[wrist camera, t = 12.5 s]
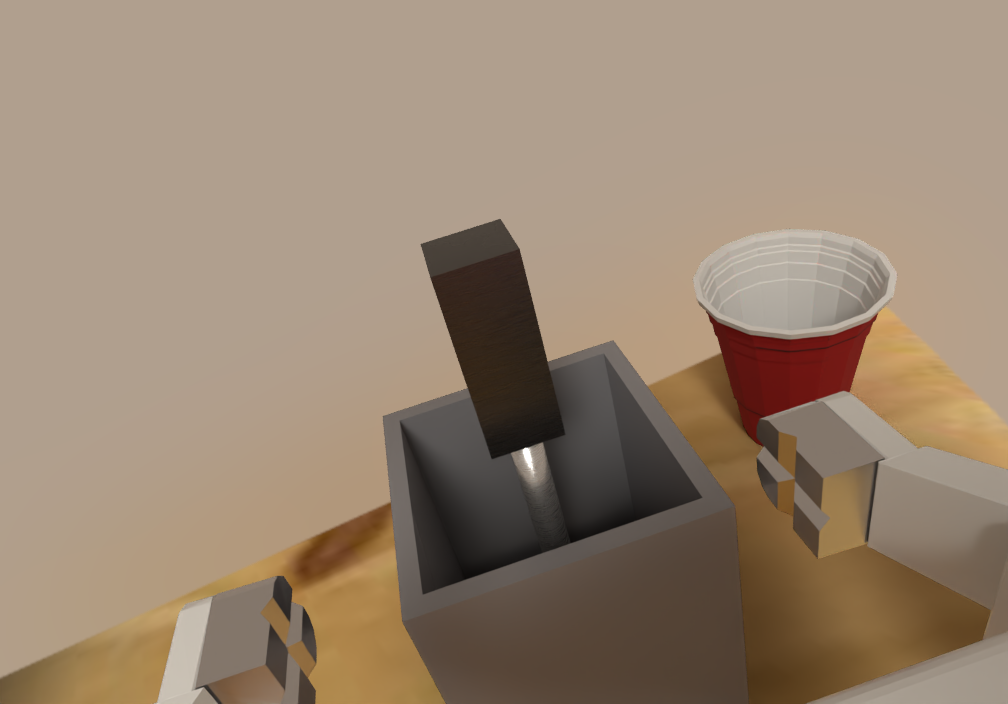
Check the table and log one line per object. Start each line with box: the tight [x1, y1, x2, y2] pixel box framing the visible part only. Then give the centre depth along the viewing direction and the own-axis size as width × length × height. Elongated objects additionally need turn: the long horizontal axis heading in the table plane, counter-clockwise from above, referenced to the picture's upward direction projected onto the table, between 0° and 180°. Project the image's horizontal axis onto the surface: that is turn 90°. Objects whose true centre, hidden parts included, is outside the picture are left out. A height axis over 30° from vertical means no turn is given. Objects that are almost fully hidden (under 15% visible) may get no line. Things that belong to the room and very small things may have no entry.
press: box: [383, 341, 749, 704], centre depth 31 cm, size 12×12×14 cm
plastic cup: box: [693, 229, 897, 446], centre depth 41 cm, size 11×11×12 cm
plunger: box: [421, 219, 571, 553], centre depth 28 cm, size 9×9×22 cm
